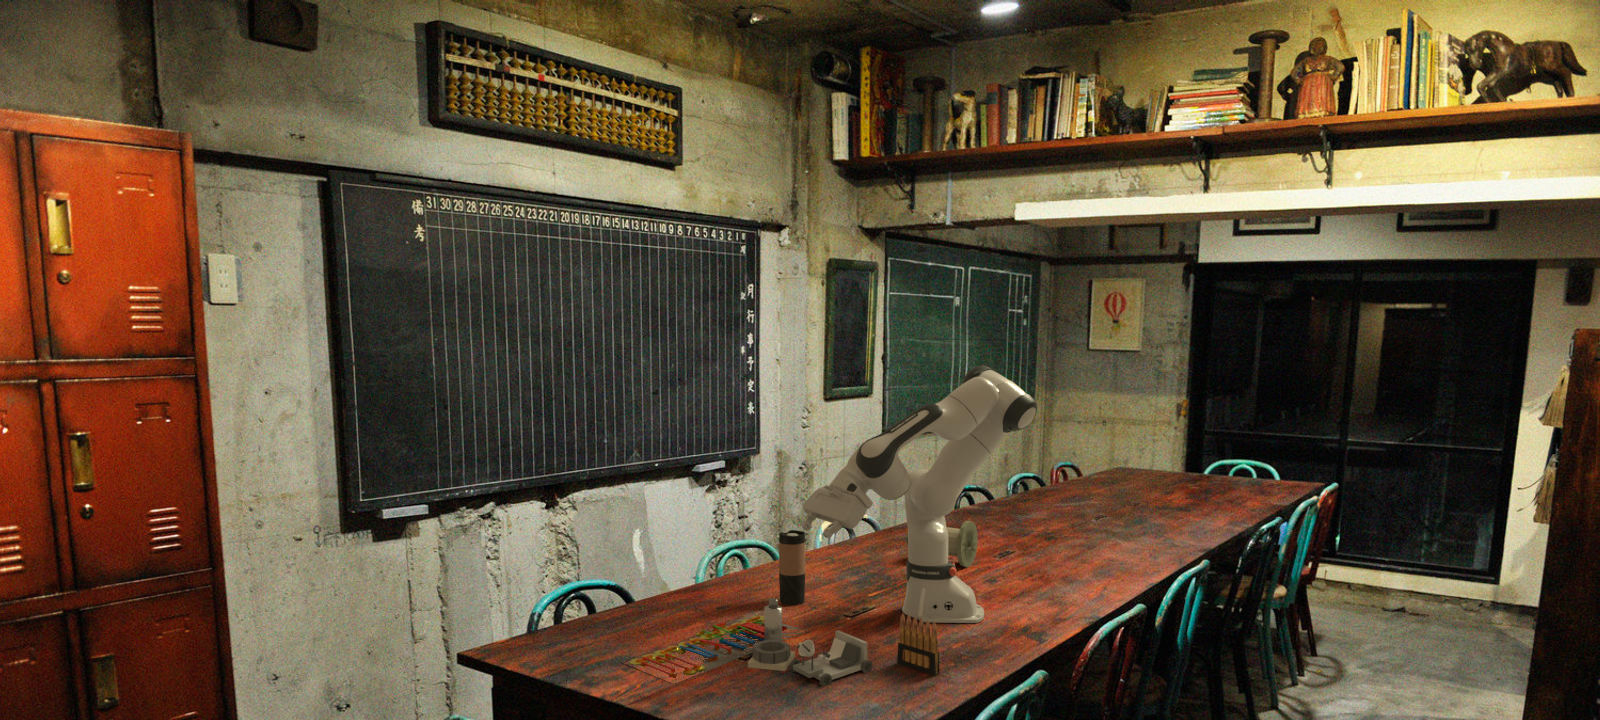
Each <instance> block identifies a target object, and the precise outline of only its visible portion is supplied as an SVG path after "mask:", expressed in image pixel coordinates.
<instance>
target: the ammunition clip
mask: <svg viewBox="0 0 1600 720" xmlns="http://www.w3.org/2000/svg"><path fill="white" fill-rule="evenodd" d="M905 618H906V617H905V613H904V612H902V613H901V615H900V621H899V624H900V625H899V633H898V642H897V657H896V663H897V664H898V665H899V666H902V667H905V668H909V669H913V670H914V671H918V672H921V673H924V674H927V675H930V676H933V677H935V676H937V675H940V651H939V649H938V647H939V644H938V643H939V641H938V632H937V631H938V630H937V629H938V627H937V625H936V622H932V626H931V624H930V622H929V621H928V620H927V622H925V626H924V622H923V620H922V618H921V619H920V620H919V623H918V619H917V618H916V617H913V618H912V617H911V616H910V615H907V618H906V619H905ZM911 618H912V619H913V620H912V619H911Z"/></svg>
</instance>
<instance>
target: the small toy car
mask: <svg viewBox="0 0 1600 720" xmlns="http://www.w3.org/2000/svg"><path fill="white" fill-rule="evenodd" d="M796 648H797V649H798V654H799V656H802V657H801V659H802V660H800V659H798V658H793V660H792V661H791V663H790V665H789V670H790V671H791V672H793V673H794V672H797V673H799V674H800V675H802V676H805V677H806V678H808V679H810V678H814V679H816V680H819V685H820V686H821V687H822V688H824V687H827V686H831V684H832V682H833V680H836V679H838V678H841V677H845V676H847V675H850V674H853V673H855V672H859V671H861V672H862V673H863V674H866V673H869V672H871V671H872V670H873V662H872V661H871V660H869V659H868V642H867V641H865V640H863V639H861V638H858V637H856V636H853V635H852V634H851V635H850V634H848V633H846V632H843V631H841V630H835V637H834V638H833V641H832V644H831V647H830V648H829V649H830V650H829V651H828V652H827V651H825V650H823V651H822V652H821V654H818V655H817V657H815V658H814V654H815V651H816V650H815V644H814V641H813V640H811V639H806V640H804V641H802V642H799V643H798V644H797V645H796ZM808 657H811V659H808V660H805V658H808ZM801 661H802V662H801Z"/></svg>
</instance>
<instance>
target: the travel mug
mask: <svg viewBox="0 0 1600 720" xmlns="http://www.w3.org/2000/svg"><path fill="white" fill-rule="evenodd" d="M778 535H779V538H778V539H779V540H778V541H779V542H778V543H779V545H778V551H779V552H778V579H779V580H778V581H779V583H778V584H779V585H778V586H779V603H780V602H781V604H782V605H784V604H785V605H784V606H791V605H794V606H799V605H798V604H800V605H803V604H804V603H805V596H806V595H805V594H806V533H805V531H802V530H797V529H796V530H795V529H793V530H788V531H787V532H783V531H780V532H779V534H778ZM802 603H803V604H802Z"/></svg>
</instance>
